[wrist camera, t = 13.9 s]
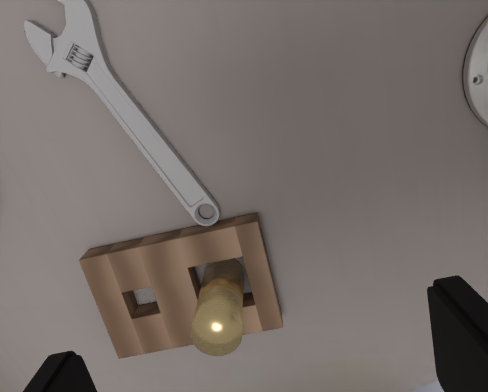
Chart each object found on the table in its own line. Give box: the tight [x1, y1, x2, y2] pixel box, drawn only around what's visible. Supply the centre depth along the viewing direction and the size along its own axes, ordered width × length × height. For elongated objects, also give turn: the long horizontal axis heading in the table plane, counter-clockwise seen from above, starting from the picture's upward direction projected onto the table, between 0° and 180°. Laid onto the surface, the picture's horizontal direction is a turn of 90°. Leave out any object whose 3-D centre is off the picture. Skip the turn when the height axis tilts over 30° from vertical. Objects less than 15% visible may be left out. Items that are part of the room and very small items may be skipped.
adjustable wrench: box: [24, 0, 220, 226], centre depth 36 cm, size 25×6×2 cm, turn 31°
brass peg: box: [191, 258, 244, 356], centre depth 36 cm, size 4×4×10 cm
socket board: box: [79, 213, 283, 359], centre depth 40 cm, size 18×12×2 cm, turn 103°
